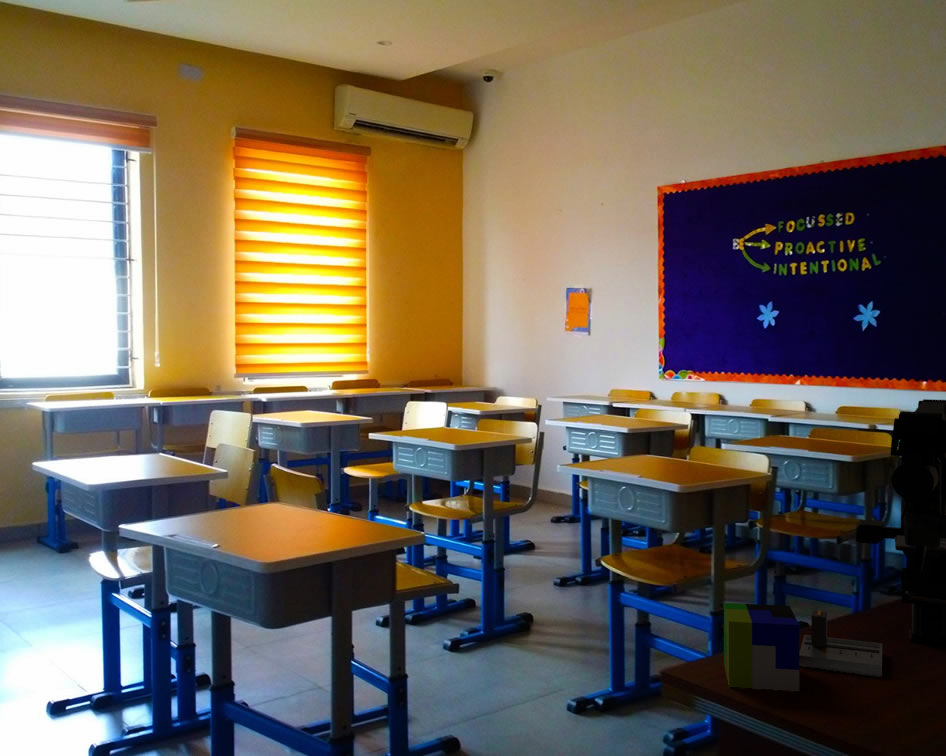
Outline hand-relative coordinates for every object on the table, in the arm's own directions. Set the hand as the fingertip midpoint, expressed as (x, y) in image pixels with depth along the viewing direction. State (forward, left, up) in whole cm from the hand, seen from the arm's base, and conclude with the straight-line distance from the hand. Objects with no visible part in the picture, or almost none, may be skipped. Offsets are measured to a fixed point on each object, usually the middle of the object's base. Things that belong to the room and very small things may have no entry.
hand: (920, 589), depth 143 cm
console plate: (+3, -12, -12) cm, 17 cm away
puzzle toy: (+15, -22, -12) cm, 30 cm away
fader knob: (+2, -15, -10) cm, 18 cm away
